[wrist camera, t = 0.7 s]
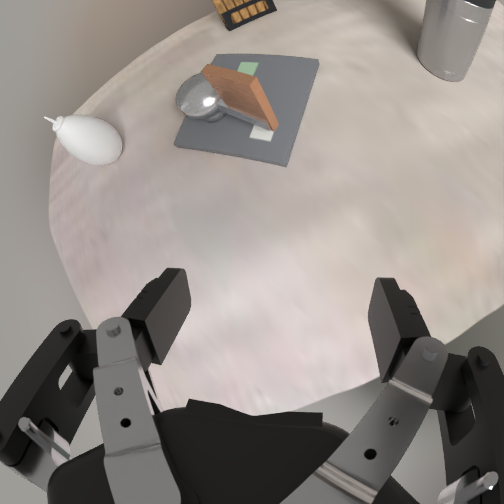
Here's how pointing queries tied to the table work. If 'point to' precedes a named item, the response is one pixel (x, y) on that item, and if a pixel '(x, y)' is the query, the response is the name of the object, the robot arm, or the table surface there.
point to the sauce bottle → (88, 138)
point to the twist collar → (226, 97)
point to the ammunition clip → (242, 11)
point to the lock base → (281, 101)
